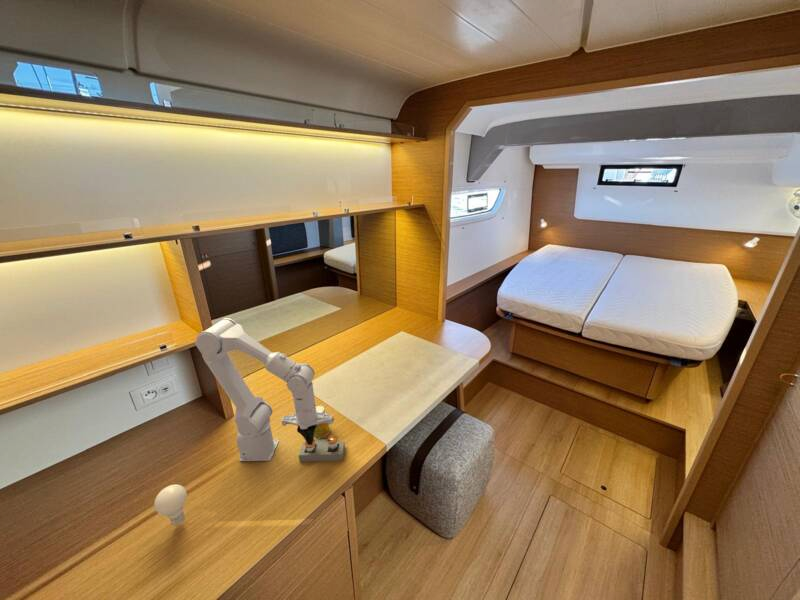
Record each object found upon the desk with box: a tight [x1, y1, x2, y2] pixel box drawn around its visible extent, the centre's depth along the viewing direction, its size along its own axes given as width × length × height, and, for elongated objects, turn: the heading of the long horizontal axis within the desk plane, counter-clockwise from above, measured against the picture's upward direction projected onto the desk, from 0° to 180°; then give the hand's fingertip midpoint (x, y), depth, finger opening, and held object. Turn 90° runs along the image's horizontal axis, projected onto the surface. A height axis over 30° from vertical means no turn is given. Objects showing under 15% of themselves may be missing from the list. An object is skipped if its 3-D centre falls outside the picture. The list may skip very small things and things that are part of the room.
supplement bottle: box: [314, 405, 330, 439], centre depth 104 cm, size 5×5×10 cm
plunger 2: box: [326, 434, 338, 452], centre depth 96 cm, size 3×3×4 cm
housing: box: [298, 420, 346, 462], centre depth 103 cm, size 13×18×2 cm
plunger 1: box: [304, 439, 316, 453], centre depth 96 cm, size 3×3×4 cm
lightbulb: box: [153, 483, 188, 527], centre depth 77 cm, size 6×6×11 cm
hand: (310, 442), depth 96 cm, fingers closed
